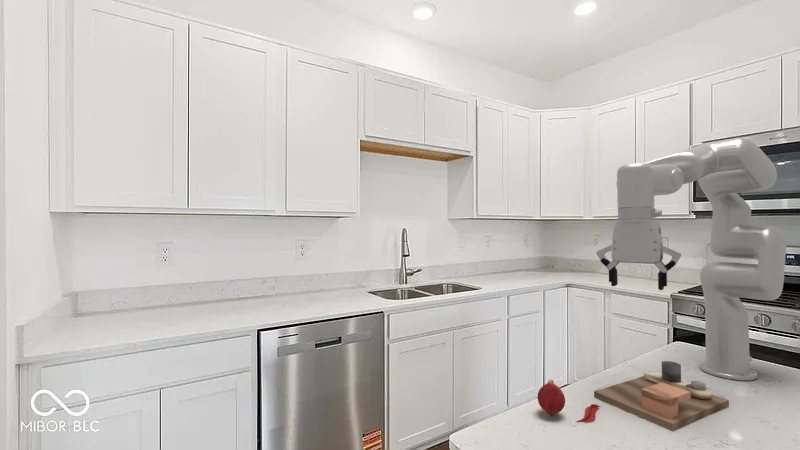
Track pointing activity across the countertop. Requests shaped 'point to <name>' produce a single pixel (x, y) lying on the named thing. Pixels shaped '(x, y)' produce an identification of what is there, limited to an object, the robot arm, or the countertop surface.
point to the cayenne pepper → (589, 414)
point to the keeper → (664, 399)
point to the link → (676, 379)
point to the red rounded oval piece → (551, 398)
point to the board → (630, 401)
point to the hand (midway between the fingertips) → (637, 287)
